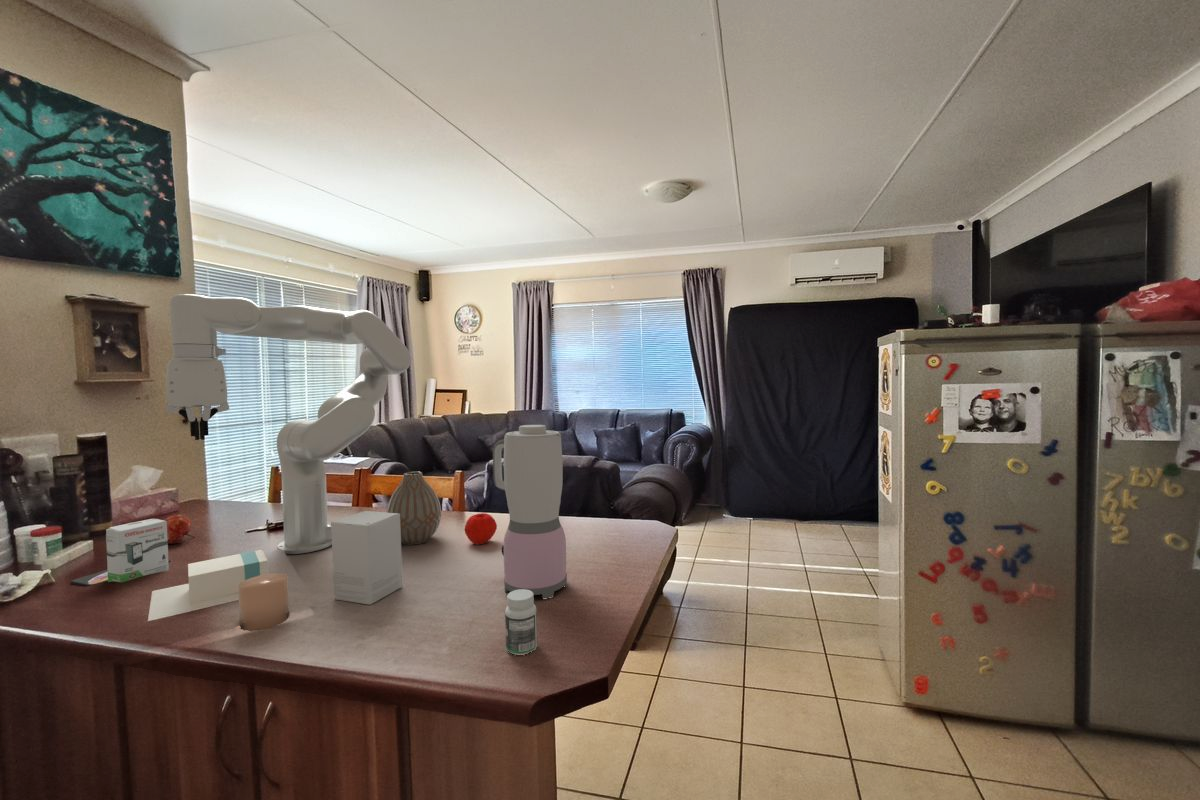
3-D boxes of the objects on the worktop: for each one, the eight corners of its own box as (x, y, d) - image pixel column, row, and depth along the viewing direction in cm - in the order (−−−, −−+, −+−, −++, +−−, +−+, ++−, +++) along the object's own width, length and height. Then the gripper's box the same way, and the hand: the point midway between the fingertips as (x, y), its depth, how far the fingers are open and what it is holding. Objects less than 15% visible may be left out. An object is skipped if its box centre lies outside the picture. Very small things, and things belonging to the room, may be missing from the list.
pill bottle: (514, 638, 80) (513, 586, 80) (542, 642, 79) (541, 589, 79) (500, 654, 76) (499, 599, 75) (529, 659, 74) (528, 602, 74)
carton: (189, 589, 98) (263, 573, 106) (190, 604, 92) (268, 585, 99) (188, 563, 98) (262, 549, 106) (188, 576, 91) (267, 560, 99)
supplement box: (404, 586, 101) (402, 512, 100) (370, 606, 92) (367, 525, 92) (368, 581, 104) (365, 509, 103) (332, 599, 95) (329, 521, 95)
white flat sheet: (258, 574, 108) (257, 568, 108) (267, 599, 96) (267, 592, 96) (152, 597, 98) (152, 591, 98) (148, 628, 85) (147, 621, 85)
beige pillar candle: (285, 607, 92) (283, 570, 92) (292, 621, 87) (290, 581, 87) (238, 620, 88) (236, 580, 87) (242, 635, 82) (240, 593, 82)
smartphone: (173, 559, 117) (91, 585, 103) (173, 563, 117) (91, 589, 103) (151, 556, 119) (68, 580, 105) (151, 559, 119) (68, 584, 105)
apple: (493, 548, 123) (492, 518, 123) (460, 548, 123) (460, 518, 123) (500, 537, 131) (499, 509, 131) (469, 538, 131) (468, 509, 131)
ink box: (121, 588, 102) (117, 531, 101) (107, 585, 104) (103, 528, 103) (170, 573, 110) (167, 519, 109) (156, 570, 112) (153, 517, 111)
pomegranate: (181, 545, 136) (141, 530, 129) (201, 520, 138) (163, 505, 132) (188, 554, 131) (147, 539, 124) (209, 528, 134) (170, 512, 127)
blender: (578, 581, 102) (576, 424, 101) (546, 606, 91) (543, 430, 90) (514, 569, 109) (511, 421, 108) (477, 591, 98) (473, 427, 97)
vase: (395, 534, 136) (393, 469, 135) (446, 531, 137) (444, 467, 136) (380, 550, 122) (377, 479, 122) (435, 548, 124) (433, 477, 123)
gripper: (237, 355, 115) (240, 435, 116) (149, 353, 106) (154, 441, 107) (240, 353, 110) (243, 437, 110) (147, 352, 100) (152, 444, 101)
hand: (199, 439), depth 109 cm, fingers closed
